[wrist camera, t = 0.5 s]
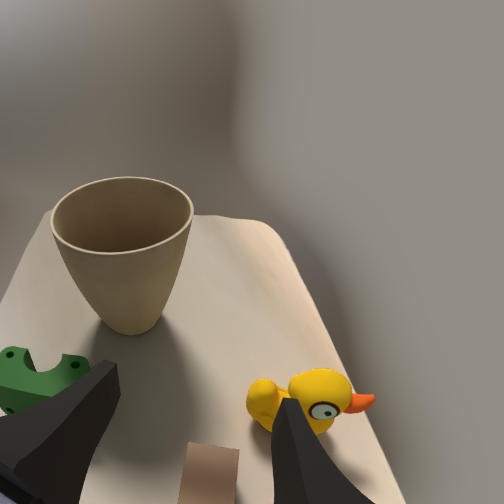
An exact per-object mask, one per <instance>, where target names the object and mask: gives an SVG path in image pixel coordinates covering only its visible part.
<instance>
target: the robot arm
mask: <svg viewBox="0 0 504 504" xmlns="http://www.w3.org/2000/svg"><path fill="white" fill-rule="evenodd" d="M120 395H121V393H120V386H119V379H118V371H117V364H116V363H113V362H109V361H106V360H103V361H102V362H101V363H99V364H98V365H97V366H95V367H94V368H93V369H91V370H90V371H89V372H87V373H86V374H85V375H83V376H82V377H81V378H79V379H78V380H77V381H75V382H74V383H72V384H71V385H69V386H68V387H67V388H65V389H63V390H62V391H60V392H59V393H57V394H55V395H54V396H52V397H50V398H49V399H47V400H45V401H43V402H41V403H39V404H37V405H34V406H32V407H30V408H27V409H25V410H22V411H19V412H16V413H13V414H10V415H6V416H2V417H0V504H79V500H80V496H81V492H82V488H83V484H84V481H85V477H86V474H87V471H88V468H89V465H90V462H91V459H92V456H93V454H94V451H95V449H96V447H97V445H98V443H99V441H100V439H101V437H102V435H103V433H104V432H105V430H106V428H107V426H108V424H109V422H110V420H111V418H112V416H113V414H114V412H115V409H116V407H117V404H118V401H119V398H120ZM271 451H272V465H273V478H274V504H375V503H373V502H372V501H371V500H370V499H368V498H367V497H366V496H365V495H363V494H362V493H361V492H360V491H359V490H358V489H357V488H356V487H355V486H354V485H353V484H352V483H351V482H350V481H349V480H348V479H347V478H346V477H345V476H344V475H343V474H342V473H341V471H340V470H339V469H338V468H337V466H336V465H335V464H334V463H333V461H332V460H331V459H330V457H329V456H328V454H327V453H326V451H325V450H324V448H323V447H322V445H321V444H320V442H319V440H318V439H317V437H316V435H315V433H314V431H313V430H312V428H311V426H310V424H309V422H308V420H307V418H306V416H305V414H304V412H303V409H302V407H301V405H300V402H299V400H298V399H296V398H285V397H283V399H282V401H281V404H280V407H279V409H278V412H277V414H276V417H275V420H274V422H273V425H272V437H271Z"/></svg>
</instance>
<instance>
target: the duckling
mask: <svg viewBox="0 0 504 504" xmlns="http://www.w3.org/2000/svg"><path fill="white" fill-rule="evenodd" d="M283 397H285V398H296V399H298V400H299V402H300V405H301V407H302V409H303V412H304V414H305V416H306V418H307V420H308V422H309V424H310V426H311V428H312V430H313V431H314V433H315V435H318V434H321V433H323V432H325V431H327V430H328V429H329V428H330V427H331V425H332V424H333V422H334V418H335V417H336V416H338V415H340V414H341V413H342V412H344V413H348V414H352V413H359V412H362V411H364V410H366V409H368V408H369V407H370V406H372V405H373V403H374V401H375V397H374V395H372V394H370V395H360V394H352V387H351V384H350V382H349V381H348V380H347V378H346V377H345V376H343V375H342V374H341V373H339V372H337V371H335V370H331V369H314V370H310V371H307V372H304V373H301V374H298V375H296V376H294V377H293V378H292V379H291V380H290V383H289V387H288V390H287V389H284V388H281V387H279V386H277V385H276V384H275V383H274V382H273V381H272V380H269V379H260V380H257V381H255V382H254V383H253V384H252V385H251V387H250V389H249V391H248V395H247V399H246V407H247V410H248V412H249V414H250V415H251V416H252V417H253V418H254V419H256V420H257V421H259V422H260V424H261V425H262V426H263V427H264V428H265V429H267V430H268V431H270V432H272V425H273V422H274V420H275V417H276V414H277V412H278V409H279V407H280V404H281V401H282V399H283Z"/></svg>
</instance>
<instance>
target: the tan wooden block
mask: <svg viewBox="0 0 504 504" xmlns="http://www.w3.org/2000/svg"><path fill="white" fill-rule="evenodd" d="M238 461H239V450H238V449H231V448H224V447H217V446H211V445H205V444H199V443H194V442H189V441H188V446H187V452H186V457H185V463H184V469H183V474H182V480H181V486H180V492H179V498H178V504H234V501H235V491H236V481H237V471H238Z"/></svg>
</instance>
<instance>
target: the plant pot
mask: <svg viewBox="0 0 504 504" xmlns="http://www.w3.org/2000/svg"><path fill="white" fill-rule="evenodd" d="M193 213H194V209H193V205H192V202H191V200H190V198H189V197H188V196H187V195H186V194H185V193H184V192H183V191H181V190H180V189H178V188H176V187H174V186H172V185H170V184H168V183H166V182H162V181H159V180H155V179H149V178H142V177H116V178H109V179H103V180H99V181H95V182H92V183H89V184H86V185H84V186H81V187H79V188H77V189H75V190H73V191H71V192H70V193H68V194H67V195H66V196H64V197H63V198H62V199H61V200H60V201H59V202H58V203H57V204H56V206H55V207H54V209H53V211H52V213H51V217H50V227H51V230H52V233H53V236H54V238H55V241H56V244H57V246H58V249H59V251H60V253H61V256H62V258H63V260H64V263H65V265H66V267H67V269H68V271H69V273H70V274H71V276H72V278H73V280H74V282H75V283H76V285H77V287H78V288H79V290H80V291H81V293H82V294H83V296H84V297H85V299H86V300H87V302H88V303H89V304H90V306H91V307H92V308H93V309H94V311H95V312H96V313H97V314H98V315H99V317H100V318H101V319H102V320H103V321H104V322H105V323H106V324H107V325H108V326H109V327H110V328H111V329H113V330H114V331H116V332H117V333H120V334H123V335H139V334H142V333H144V332H146V331H148V330H150V329H151V328H152V327H153V326H154V325H155V324H156V322H157V320H158V319H159V317H160V315H161V313H162V311H163V309H164V307H165V305H166V302H167V300H168V298H169V296H170V293H171V291H172V288H173V285H174V283H175V280H176V277H177V274H178V271H179V268H180V265H181V261H182V258H183V255H184V251H185V247H186V243H187V239H188V235H189V231H190V227H191V222H192V218H193Z"/></svg>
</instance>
